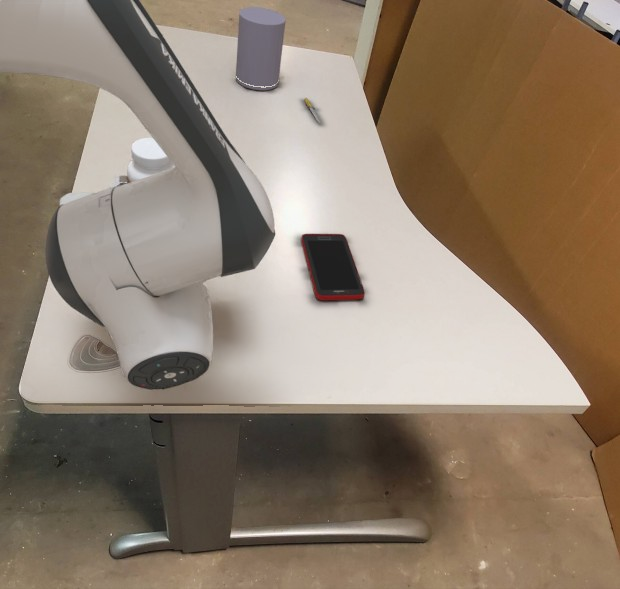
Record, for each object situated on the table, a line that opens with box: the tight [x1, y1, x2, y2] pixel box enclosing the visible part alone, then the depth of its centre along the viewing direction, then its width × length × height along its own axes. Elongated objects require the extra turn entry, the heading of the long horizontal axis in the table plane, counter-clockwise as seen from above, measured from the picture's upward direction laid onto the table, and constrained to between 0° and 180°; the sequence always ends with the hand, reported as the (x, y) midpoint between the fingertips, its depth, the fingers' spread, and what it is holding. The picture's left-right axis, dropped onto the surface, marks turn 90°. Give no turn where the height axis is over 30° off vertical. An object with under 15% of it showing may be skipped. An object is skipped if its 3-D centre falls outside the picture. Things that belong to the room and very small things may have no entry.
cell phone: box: [300, 233, 366, 301], centre depth 83 cm, size 8×15×1 cm, turn 10°
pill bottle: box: [126, 137, 175, 183], centre depth 64 cm, size 6×6×11 cm
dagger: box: [304, 97, 321, 124], centre depth 120 cm, size 11×1×2 cm
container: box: [235, 6, 287, 92], centre depth 122 cm, size 10×10×15 cm
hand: (153, 180), depth 65 cm, fingers closed on pill bottle, 6 cm apart
